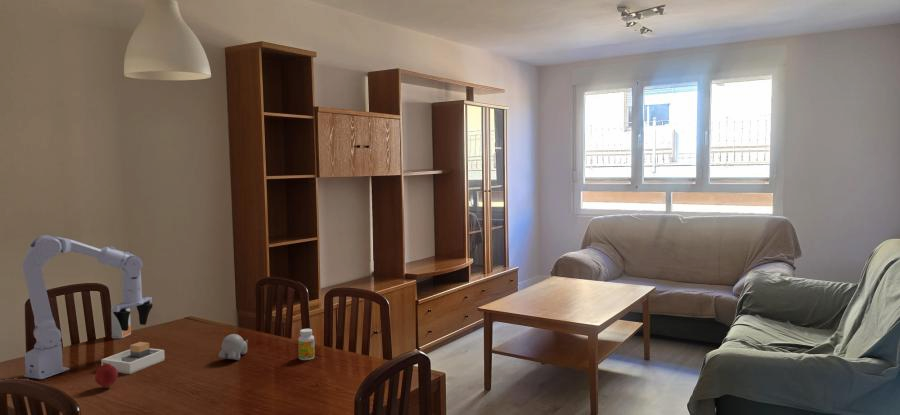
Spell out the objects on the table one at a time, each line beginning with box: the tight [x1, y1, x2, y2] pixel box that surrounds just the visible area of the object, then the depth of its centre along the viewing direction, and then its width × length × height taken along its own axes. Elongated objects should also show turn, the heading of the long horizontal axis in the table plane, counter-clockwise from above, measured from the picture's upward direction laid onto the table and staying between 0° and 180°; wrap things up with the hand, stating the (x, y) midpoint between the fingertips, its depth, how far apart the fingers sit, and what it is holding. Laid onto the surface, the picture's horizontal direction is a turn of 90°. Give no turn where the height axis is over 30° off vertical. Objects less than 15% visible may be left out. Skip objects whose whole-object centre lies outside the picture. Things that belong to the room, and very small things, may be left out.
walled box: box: [100, 347, 166, 375], centre depth 193 cm, size 14×12×4 cm
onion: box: [94, 362, 119, 389], centre depth 173 cm, size 6×6×8 cm
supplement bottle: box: [297, 328, 316, 361], centre depth 199 cm, size 5×5×10 cm
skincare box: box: [110, 307, 132, 339], centre depth 226 cm, size 6×4×12 cm
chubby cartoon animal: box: [218, 333, 249, 361], centre depth 200 cm, size 7×12×8 cm, turn 162°
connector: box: [129, 341, 150, 359], centre depth 195 cm, size 4×4×6 cm
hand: (134, 327), depth 203 cm, fingers open, 7 cm apart
